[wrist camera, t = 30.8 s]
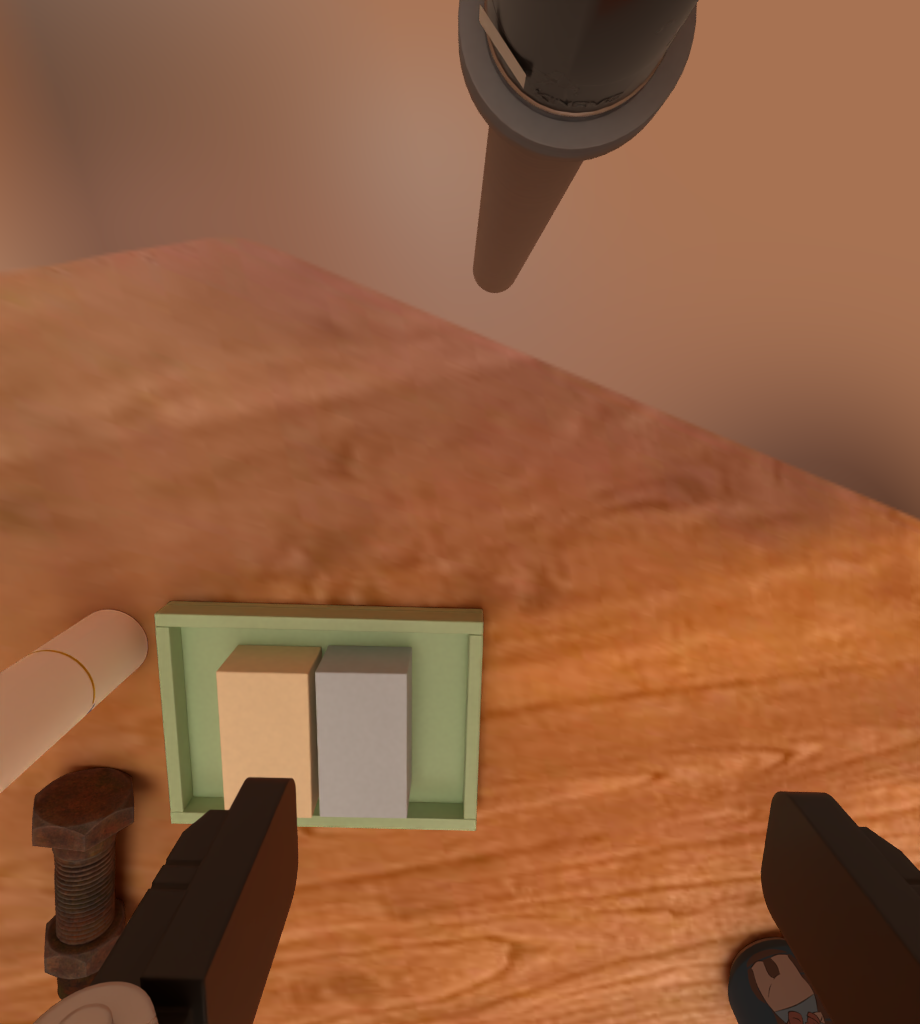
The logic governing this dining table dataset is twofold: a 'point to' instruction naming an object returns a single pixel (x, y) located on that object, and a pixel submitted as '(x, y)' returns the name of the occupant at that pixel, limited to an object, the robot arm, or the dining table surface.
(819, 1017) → the soda can
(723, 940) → the dining table surface
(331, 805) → the blue-grey pad
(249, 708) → the cream pad
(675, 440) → the dining table surface
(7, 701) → the tube
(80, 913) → the bolt
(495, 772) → the dining table surface
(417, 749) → the tray
